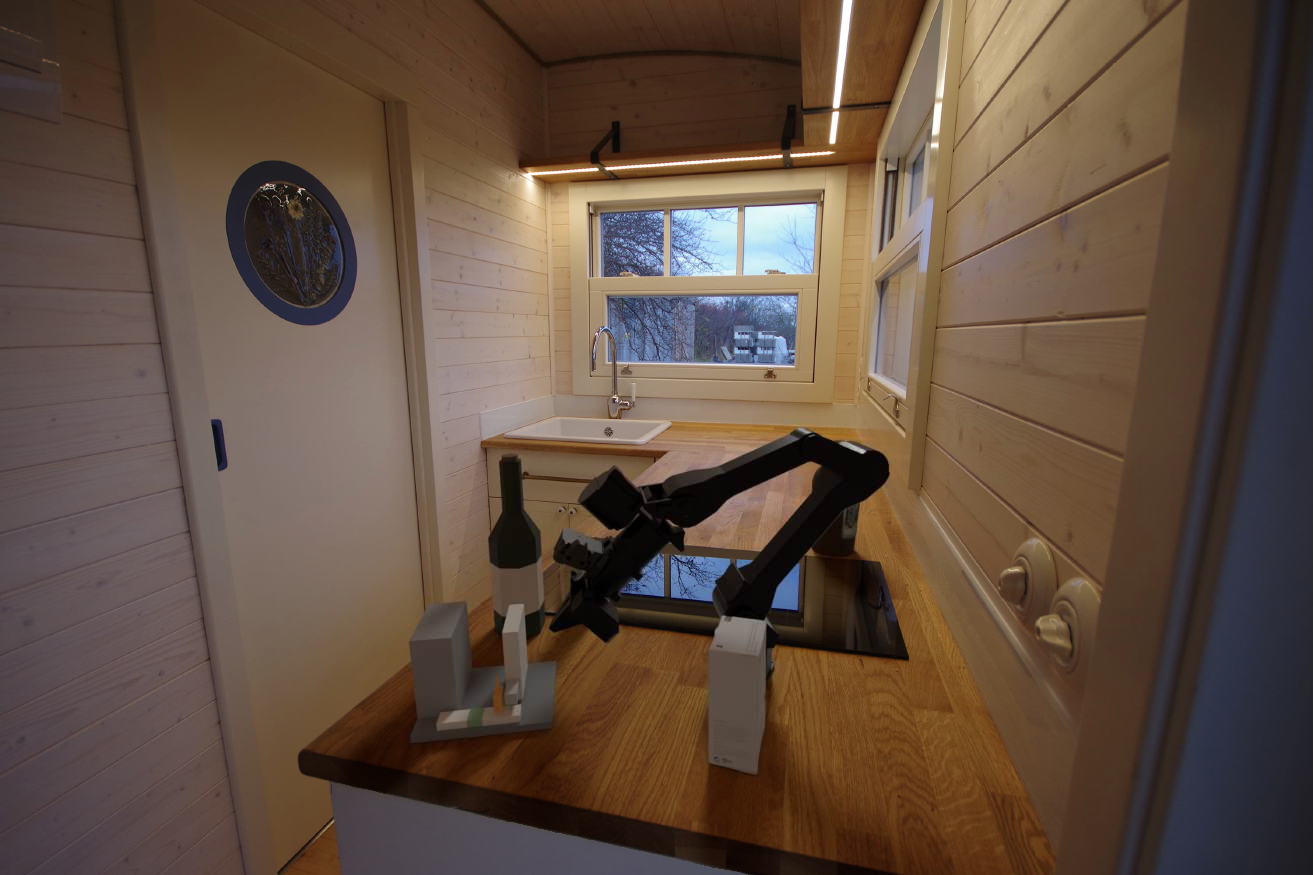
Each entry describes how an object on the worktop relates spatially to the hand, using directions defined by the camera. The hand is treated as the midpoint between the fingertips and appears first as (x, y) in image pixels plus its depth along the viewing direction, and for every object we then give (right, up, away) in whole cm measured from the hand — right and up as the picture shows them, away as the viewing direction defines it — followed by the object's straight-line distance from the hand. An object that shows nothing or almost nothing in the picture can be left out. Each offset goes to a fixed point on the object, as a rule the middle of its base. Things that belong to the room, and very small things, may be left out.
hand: (551, 629), depth 72 cm
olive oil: (+55, +1, +48) cm, 73 cm away
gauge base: (-8, -10, 0) cm, 13 cm away
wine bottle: (-9, -6, +18) cm, 20 cm away
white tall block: (-5, -8, 0) cm, 9 cm away
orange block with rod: (-5, -8, -5) cm, 11 cm away
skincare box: (+24, -11, -8) cm, 28 cm away
